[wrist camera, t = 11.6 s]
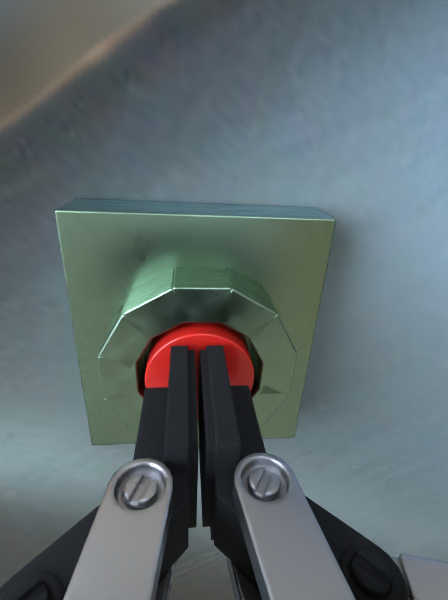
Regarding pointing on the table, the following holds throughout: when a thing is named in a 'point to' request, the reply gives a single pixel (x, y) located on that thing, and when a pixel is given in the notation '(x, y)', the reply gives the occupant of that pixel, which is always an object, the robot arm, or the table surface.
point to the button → (197, 340)
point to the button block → (191, 296)
